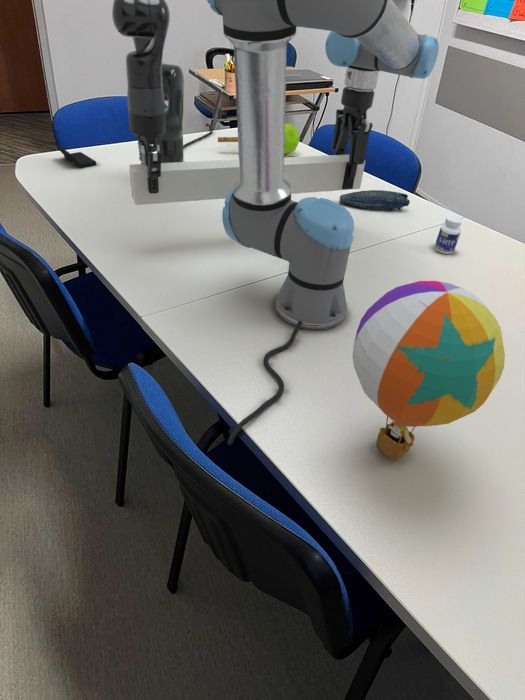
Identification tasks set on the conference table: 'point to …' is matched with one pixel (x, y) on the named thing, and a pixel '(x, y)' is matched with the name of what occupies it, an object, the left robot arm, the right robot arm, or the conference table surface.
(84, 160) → the black handled tool
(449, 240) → the pill bottle
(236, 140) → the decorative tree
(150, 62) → the left robot arm
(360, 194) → the fish model
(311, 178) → the beam
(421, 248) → the conference table surface
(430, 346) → the toy
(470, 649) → the conference table surface
